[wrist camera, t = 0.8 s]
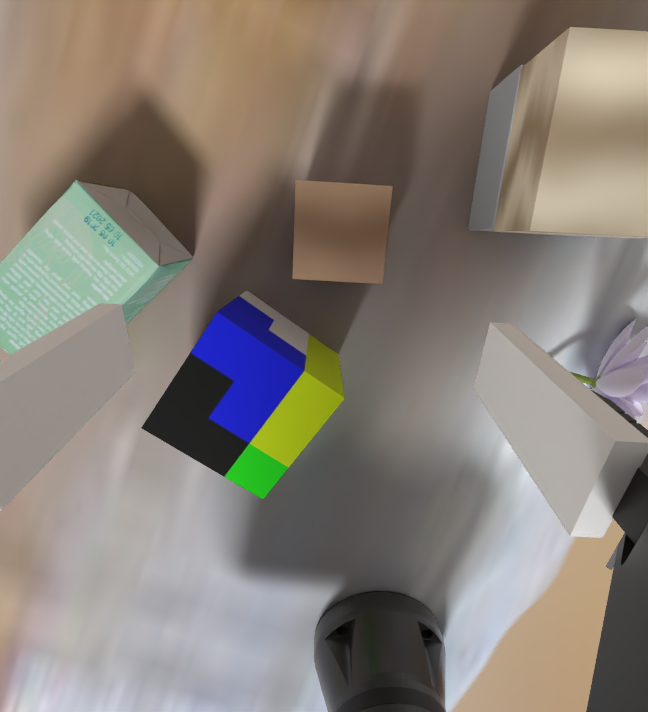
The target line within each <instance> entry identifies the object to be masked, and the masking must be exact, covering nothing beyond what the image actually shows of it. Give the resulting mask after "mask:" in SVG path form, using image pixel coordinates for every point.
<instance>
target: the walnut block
mask: <svg viewBox="0 0 648 712" xmlns="http://www.w3.org/2000/svg"><path fill="white" fill-rule="evenodd" d="M392 188H393V186H384V185H369V184H353V183H337V182H321V181H306V180H296V181H295V212H294V244H293V276H292V279H303V280H320V281H337V282H355V283H372V284H383V276H384V266H385V257H386V247H387V237H388V227H389V218H390V208H391V198H392Z"/></svg>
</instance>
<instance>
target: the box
mask: <svg viewBox="0 0 648 712" xmlns="http://www.w3.org/2000/svg"><path fill="white" fill-rule="evenodd" d="M192 259H193V257H192V256H191V254H190V253H189V252H188V251H187V250H186V248H185V247H184V246H183V245H182V244H181V243H180V242H179V241H178V240H177V239H176V237H175V236H174V235H173V234H172V233H171V232H170V231H169V230H168V229H167V228H166V227H165V225H164V224H163V223H162V222H161V221H160V220H159V219H158V218H157V217H156V216H155V215H154V213H153V212H152V211H151V210H150V209H149V208H148V207H147V206H146V205H145V204H144V203H143V202H142V201H141V200H140V199H139V198H138V197H137V196H136V195H135V194H134V193H132V192H131V191H129V190H127V189H122V188H117V187H111V186H106V185H100V184H95V183H89V182H84V181H79V180H75V181H74V182H73V184H72V185H71V186H70V187H69V188H68V189H67V190H66V191H65V192H64V193H63V195H62V196H61V197H60V198H59V199H58V200H57V201H56V202H55V203H54V204H53V205H52V206H51V208H50V209H49V210H48V211H47V212H46V213H45V214H44V215H43V216H42V217H41V219H40V220H39V221H38V222H37V223H36V224H35V225H34V226H33V227H32V229H31V230H30V231H29V232H28V233H27V234H26V235H25V236H24V237H23V239H22V240H21V241H20V242H19V243H18V244H17V245H16V246H15V248H14V249H13V250H12V251H11V252H10V253H9V254H8V255H7V256H6V257H5V259H4V260H3V261H2V262H1V263H0V347H1V348H3V349H4V350H5V351H6V352H7V353H9V354H10V355H11V354H13V353H14V352H16V351H18V350H20V349H21V348H23V347H25V346H27V345H28V344H30V343H32V342H34V341H35V340H37V339H39V338H41V337H42V336H44V335H46V334H47V333H49V332H51V331H53V330H54V329H56V328H58V327H60V326H61V325H63V324H65V323H67V322H68V321H70V320H72V319H74V318H75V317H77V316H79V315H80V314H82V313H84V312H86V311H87V310H89V309H91V308H93V307H94V306H96V305H98V304H100V303H106V304H122V308H123V313H124V318H125V323H126V324H127V323H128V322H129V321H130V320H131V319H132V318H133V317H134V316H135V315H137V314H138V313H139V312H140V311H141V310H142V309H143V308H144V307H145V306H146V305H147V304H148V303H149V302H150V301H151V300H152V299H153V298H154V297H155V296H156V295H157V294H158V293H159V292H160V291H161V290H162V289H163V288H164V287H165V286H166V285H167V284H168V283H169V282H170V281H171V280H172V279H173V278H174V277H175V276H176V275H177V274H178V273H179V272H180V271H181V270H182V269H183V268H184V267H185V266H186V265H187V264H188V263H189V262H190V261H191V260H192Z"/></svg>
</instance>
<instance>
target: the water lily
mask: <svg viewBox="0 0 648 712" xmlns="http://www.w3.org/2000/svg"><path fill="white" fill-rule="evenodd" d="M635 322H636V319H635V320H633V321H632V322H631V323H630V324H629V325H628V326H627V327H626V328H624V330H623V331H622V332H621V333H620V334H619V335H618V336H617V337H616V339H615V340H614V341H613V343H612V344H611V346H610V347H609V349H608V351H607V352H606V354H605V356H604V358H603V360H602V362H601V365H600V367H599V370H598V373H597V376H596V378H595V379H592V378H589V377H586V376H582V375H579V374H575V373H572V372H570V373H571V374H572V375H573V376H575V377H576V378H577V379H578V380H579V381H580V382H583V383H587V384H590V385H592V389H591V390H593V391H595V392H596V393H598V394H600V395H602V396H604V397H606V398H608V399H610V400H611V401H613V402H614V403H615V404H616V405H617V406H619V407H620V408H621V409H622V410H624V411H625V414H628V415H630V416H631V417H632V418H633V419H635V417H634V416H636V417H640V416H642V415H643V408H642V405H641V403H648V356H645V357H642V358H639V359H637V358H638V357H639V355H640V354H641V352H642V351H643V349H644V347H645V346H646V344H647V342H645V341H646V340H647V339H648V326H646V327H645V328H644V329H643V330H641V331H640V332H639V333H638V334H636V335H635V336H634V337H633V338H632V339H631V340H630V341H629V342H628V343H627V341H628V339H629V337H630V334H631V332H632V329H633V327H634V324H635ZM626 343H627V344H626ZM640 402H641V403H640Z"/></svg>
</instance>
